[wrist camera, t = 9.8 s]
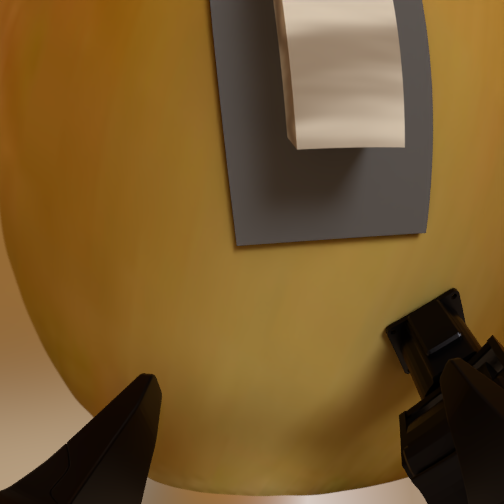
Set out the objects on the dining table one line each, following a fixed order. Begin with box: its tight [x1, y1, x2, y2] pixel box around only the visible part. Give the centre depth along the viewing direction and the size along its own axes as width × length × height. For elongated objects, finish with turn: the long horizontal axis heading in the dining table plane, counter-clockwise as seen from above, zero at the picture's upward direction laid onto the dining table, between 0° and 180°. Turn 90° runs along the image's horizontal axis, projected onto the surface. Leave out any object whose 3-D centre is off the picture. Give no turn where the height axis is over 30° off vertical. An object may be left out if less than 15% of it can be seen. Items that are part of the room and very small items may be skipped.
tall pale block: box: [273, 0, 405, 150], centre depth 11 cm, size 5×5×12 cm
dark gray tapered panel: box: [210, 0, 433, 246], centre depth 15 cm, size 18×12×1 cm, turn 5°
